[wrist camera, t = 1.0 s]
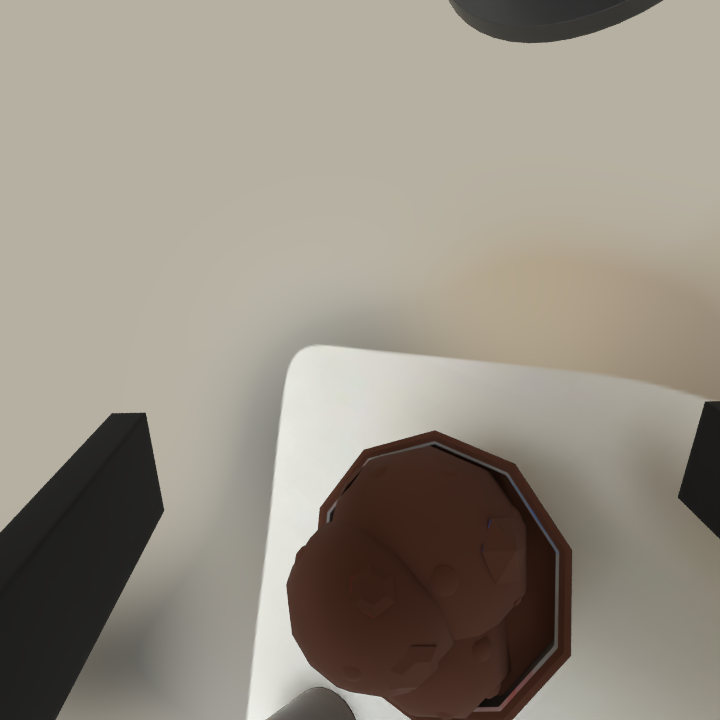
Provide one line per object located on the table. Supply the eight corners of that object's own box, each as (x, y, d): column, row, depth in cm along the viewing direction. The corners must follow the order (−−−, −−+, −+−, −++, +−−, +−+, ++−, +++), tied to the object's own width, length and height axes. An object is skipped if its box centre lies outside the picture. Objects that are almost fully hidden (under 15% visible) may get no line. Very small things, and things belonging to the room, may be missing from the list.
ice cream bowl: (553, 689, 25) (472, 941, 12) (372, 575, 30) (183, 659, 17) (625, 493, 25) (624, 530, 12) (431, 415, 30) (286, 382, 17)
